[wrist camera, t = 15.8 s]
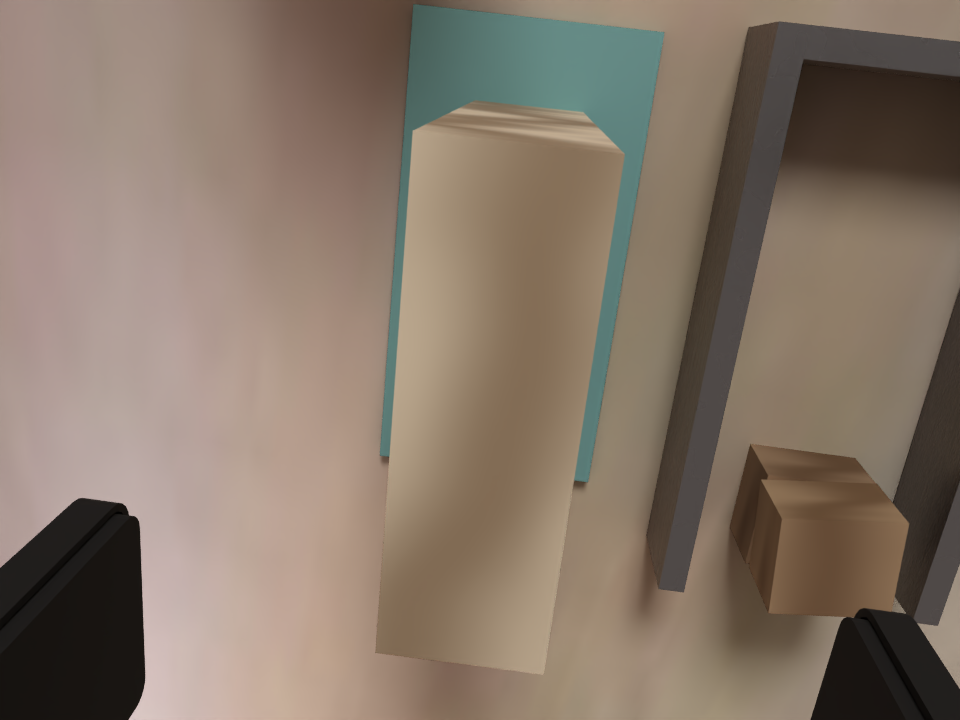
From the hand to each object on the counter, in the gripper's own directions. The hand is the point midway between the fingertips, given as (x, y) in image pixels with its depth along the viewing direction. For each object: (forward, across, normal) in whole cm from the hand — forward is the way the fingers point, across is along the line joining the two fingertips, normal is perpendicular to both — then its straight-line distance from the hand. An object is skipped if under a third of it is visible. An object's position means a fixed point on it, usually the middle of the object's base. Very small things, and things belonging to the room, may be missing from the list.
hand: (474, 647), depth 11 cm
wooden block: (+23, +1, 0) cm, 23 cm away
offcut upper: (+21, -12, +9) cm, 26 cm away
